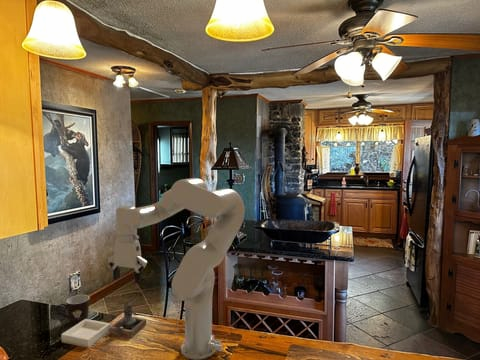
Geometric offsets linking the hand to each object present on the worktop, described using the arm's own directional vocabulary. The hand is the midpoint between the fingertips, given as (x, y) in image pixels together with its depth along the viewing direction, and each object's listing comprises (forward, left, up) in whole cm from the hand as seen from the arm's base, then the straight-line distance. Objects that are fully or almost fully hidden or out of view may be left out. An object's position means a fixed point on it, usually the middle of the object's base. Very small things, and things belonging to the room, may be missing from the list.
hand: (127, 280), depth 128 cm
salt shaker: (0, 0, -20) cm, 20 cm away
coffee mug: (+24, +2, -20) cm, 31 cm away
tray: (+12, +9, -20) cm, 25 cm away
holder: (0, 0, -20) cm, 20 cm away
